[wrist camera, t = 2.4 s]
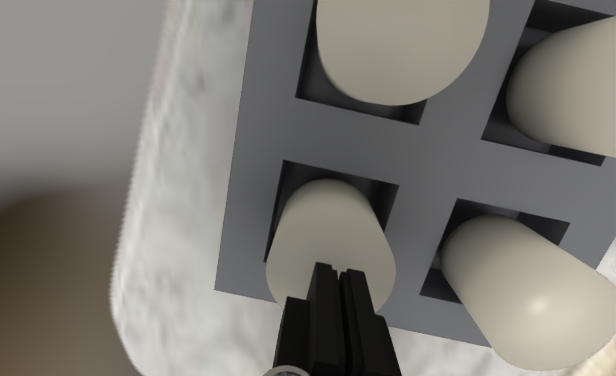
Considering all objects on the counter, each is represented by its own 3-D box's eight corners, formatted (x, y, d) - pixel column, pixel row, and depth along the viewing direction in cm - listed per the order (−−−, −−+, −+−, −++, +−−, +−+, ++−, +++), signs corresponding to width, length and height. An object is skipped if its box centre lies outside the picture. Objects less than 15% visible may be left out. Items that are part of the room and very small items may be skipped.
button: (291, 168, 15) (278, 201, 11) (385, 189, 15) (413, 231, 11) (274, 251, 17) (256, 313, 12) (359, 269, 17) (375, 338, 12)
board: (286, -85, 15) (274, -146, 11) (660, 4, 15) (771, -26, 12) (233, 254, 21) (214, 289, 17) (503, 311, 21) (542, 358, 18)
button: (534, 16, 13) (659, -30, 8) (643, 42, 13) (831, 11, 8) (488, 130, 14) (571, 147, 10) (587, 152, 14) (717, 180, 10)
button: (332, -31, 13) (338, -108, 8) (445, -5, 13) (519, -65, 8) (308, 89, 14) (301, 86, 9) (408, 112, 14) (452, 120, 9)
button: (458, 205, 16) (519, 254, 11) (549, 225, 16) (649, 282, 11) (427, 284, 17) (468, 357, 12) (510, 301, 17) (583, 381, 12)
